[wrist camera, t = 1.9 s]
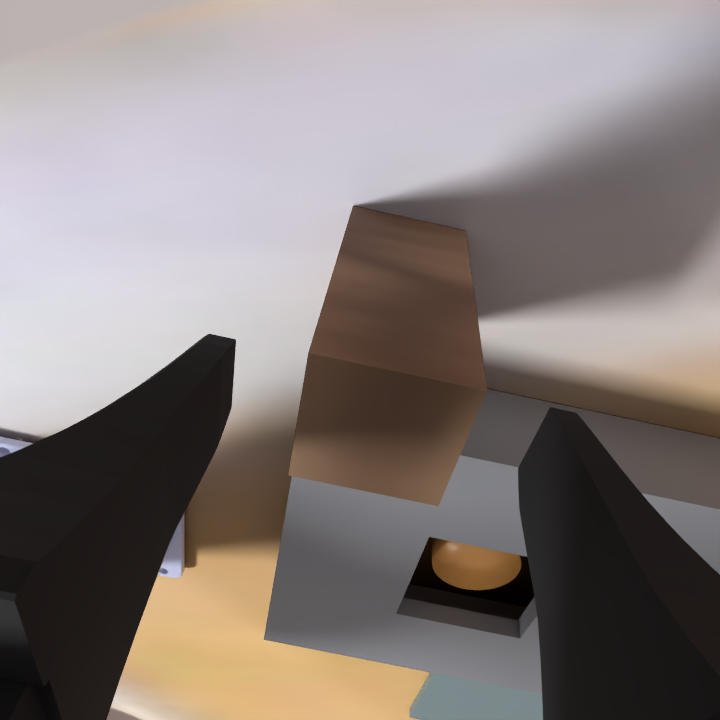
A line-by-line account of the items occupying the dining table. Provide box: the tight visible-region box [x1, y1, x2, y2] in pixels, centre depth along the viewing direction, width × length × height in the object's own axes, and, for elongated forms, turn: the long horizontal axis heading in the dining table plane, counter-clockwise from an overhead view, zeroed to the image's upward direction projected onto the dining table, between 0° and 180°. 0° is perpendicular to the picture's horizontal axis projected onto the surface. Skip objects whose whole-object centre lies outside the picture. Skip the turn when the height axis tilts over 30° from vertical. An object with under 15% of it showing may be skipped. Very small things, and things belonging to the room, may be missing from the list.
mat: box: [410, 673, 543, 720], centre depth 34 cm, size 10×10×1 cm
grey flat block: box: [264, 389, 720, 694], centre depth 24 cm, size 16×14×4 cm
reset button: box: [432, 537, 521, 590], centre depth 24 cm, size 4×4×1 cm
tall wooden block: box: [288, 206, 487, 506], centre depth 15 cm, size 4×4×8 cm
